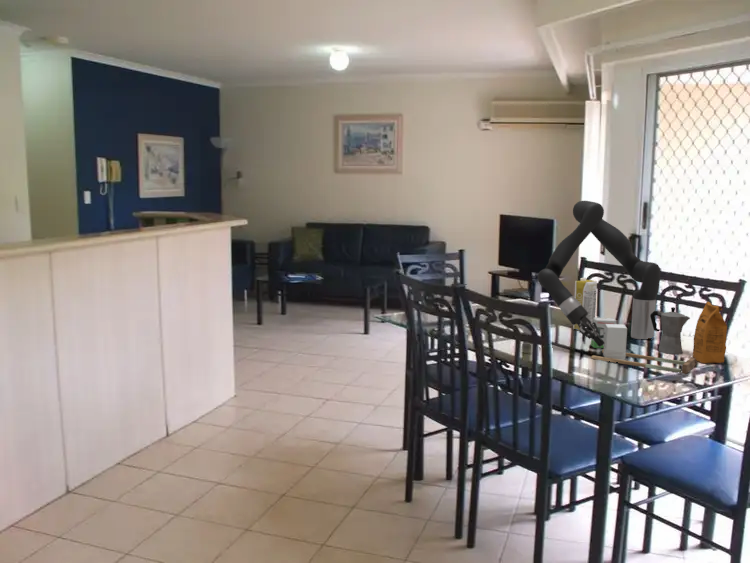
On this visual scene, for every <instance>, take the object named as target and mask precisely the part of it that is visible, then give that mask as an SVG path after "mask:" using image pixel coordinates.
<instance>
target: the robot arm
mask: <svg viewBox="0 0 750 563" xmlns="http://www.w3.org/2000/svg"><path fill="white" fill-rule="evenodd" d="M604 214H605V210H604V207H603V205H602V204H600V203H599V202H595V201H591V200H579V201H578V202H576V203H575V204H574V205H573V208H572V215H573V217H574V219H575V221H576V222H578V223H579V224H578V225H577V227H576V228H575V229H574V230H573V231H572V232H571V233H570V234H569V235H567V236H566V237H565V238H564V239H563V240H561V241H560V242H559V243H558V245H557V246H556V247H555V249H554V251H553V253H552V254H551V255H550V257H549V259H548V263H547V264H546V266H545V267H544V268H543V269H541V270H540V271H539V272H538V275H537V280H538V283H539V285H540V286H541V287H542V288H544V289H545V291H546V292H547V293H548V294H549V295H550V296H551V299H552V300H553V301H554V302H555V304H556V305H557V307H559V310H560V311H561V312H562V314H563V315H565V317H566V318H567V319H568V321H569V322H570V323H571V324H572V326H573V325H575V324H577V325H578V326H579V328H580V330H579V333H580V334H582V335H583V336H584V337H585V338H588V339H589V340H591V339H592V340H594V341H595V342H596V344H597V345H598V346H599V347H600V346H602V345H603V344H604V341H603V340H602V339H601V338H600V337H599V336H598V335H599V330H598V328H597V326H596V323H595V322H593V323H592V322H591V321H590V320H589V319H588V318H587V317H586V316H587V315H588V312H587V311H586V310H585V309H584V307H583V306H582V305H581V304H580V303H579V301H578V300H577V299H576V298H575V297H574V295H573V294H572V293H571V292H570V290H569V289H568V288H567V287H566V286H565V285H564V284H563V283H562V281H561V280H560V276H561V275H562V273H563V270H564V269H565V267H566V266H567V264H568V263H569V262H570V260H571V258H572V257H573V255H574V254H575V252H576V251H577V250H578V248H579V247H580V246H581V244H582V243H583V242H584V241H585V239H586V238H587V237H588V236H589V235H590V234H592V235H593V236H594V237H595V238H596V240H597V241H598V242H599V243H600V244H601V245H602V246H603V247H604V248H605V249H606V250H607V252H608V253H610V254H611V256H612V257H614V259H615V260H616V261H618V263H619V264H621V266H622V267H623V268H624V269H625V271H626V272H627V273H628V275H629V276H630V277H631V279H632V280H634V281H635V282H637V283H642V285H641V288H640V289H639V290H635V291H634V292H633V296H632V297H633V298H632V315H631V329H630V330H631V331H630V337H631V339H636V340H641V339H648V338H652V337H654V336H655V335H654V334H655V331H654V328H653V324H652V321H651V317H650V315H651V313H653V312H654V311H656V308H657V307H656V306H657V305H656V304H657V295H658V293H659V289H660V283H661V282H660V280H661V268H660V266H659V264H657V263H656V262H651V261H643V260H641V259H640V258H638V256H636V255H635V254H634V252H633V246H632V242H631V240H629V238H628V237H627V236H626V235H625V234H624V233H623V232H622V231H621V230H620V229H619V228H617V227H616V226H614V225H613V224H611V223H609V222H607V221H606V220H604V219H603V217H604Z"/></svg>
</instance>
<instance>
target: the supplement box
mask: <svg viewBox="0 0 750 563" xmlns="http://www.w3.org/2000/svg"><path fill="white" fill-rule="evenodd" d="M627 335H628V328H627V326H626V325H625V324H621V323H616V324H605V335H604V348H603V349H604V353H602V354H603V357H607V358H613V359H620V360H626V357H627V356H626V353H627V340H628V338H627V337H628V336H627Z"/></svg>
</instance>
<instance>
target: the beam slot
mask: <svg viewBox="0 0 750 563" xmlns="http://www.w3.org/2000/svg"><path fill="white" fill-rule="evenodd" d="M601 350H602V351H601V353H602V354H603V353H604V348H602V349H601ZM626 357H629V358H635V359H641V360H642V359H643V360H648V361H656V362H663V363H668V364H674V365H680V366H681V368H676V367H669V366H664V365H663V366H662V365H656V364H650V363H644V362H638V361H632V360H626V359H625V360H620V359H613V358H607V357H604V356H599V355H594V354H593V355H591V357H590V358H591V360H597V361H598V360H599V361H604V362H609V361H610V363H616V362H618V363H617V364H623V365H629V366H634V367H641V368H648V369H654V370H660V371H665V372H666V371H667V372H673V373H678V372H679V374H680V373H681V374H685V375H687V374H688V373H689V372H690V371H692V369H693V368H695V366H696V358H694V357H693V356H692V357H690V358H689V359H687V360H686V361H684V360H676V359H670V358H664V357H656V356H652V355H651V356H648V355H645V354H636V353H632V352H631V353H630V352H626Z"/></svg>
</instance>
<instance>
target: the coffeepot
mask: <svg viewBox="0 0 750 563" xmlns="http://www.w3.org/2000/svg"><path fill="white" fill-rule="evenodd" d="M670 309H671V310H670V311H668V312H663V311H659V310H655V311H654V312H653V313H651V315H650V317H651V321H652V324H653V328H654V332H660V328H658V327H657V326H658V325H657V323H656V316H657V317H660V319H661V321H660V322H661V331H662V334H661V338H660V342H659V345H658V352H660V353H662V354H667V355H680V354H683V349H682V348H683V346H682V335H681V333H682V331H683V328H684V326H685V325H686V323H687V322H688V320H690V319H691V318H690V317H689V316H687V315H685V314H684V313H679V312H676V311H675V310H676V307H674V306H673V307H670Z"/></svg>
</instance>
